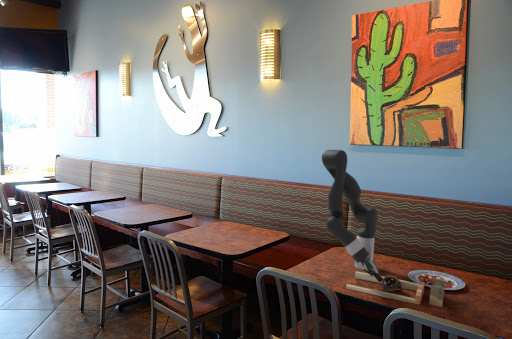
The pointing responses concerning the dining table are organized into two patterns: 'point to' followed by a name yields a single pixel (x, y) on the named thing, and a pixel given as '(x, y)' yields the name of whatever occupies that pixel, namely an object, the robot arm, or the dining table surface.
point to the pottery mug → (395, 284)
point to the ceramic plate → (428, 276)
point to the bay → (405, 284)
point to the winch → (437, 292)
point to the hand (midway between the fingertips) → (381, 280)
